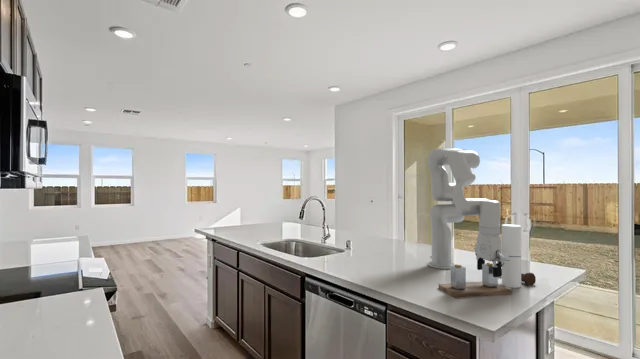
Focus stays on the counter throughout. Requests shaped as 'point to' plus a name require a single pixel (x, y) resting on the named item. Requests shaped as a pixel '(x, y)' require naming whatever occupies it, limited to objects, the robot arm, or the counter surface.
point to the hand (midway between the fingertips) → (488, 273)
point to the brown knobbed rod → (527, 278)
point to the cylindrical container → (511, 255)
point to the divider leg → (488, 275)
